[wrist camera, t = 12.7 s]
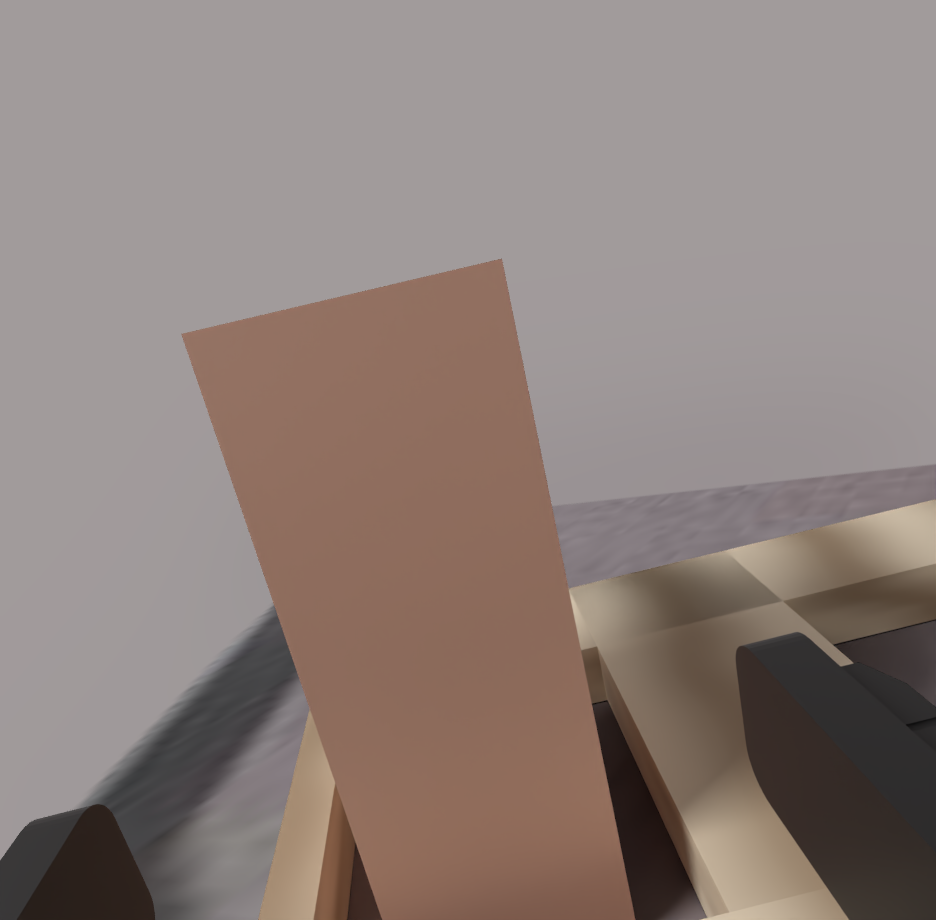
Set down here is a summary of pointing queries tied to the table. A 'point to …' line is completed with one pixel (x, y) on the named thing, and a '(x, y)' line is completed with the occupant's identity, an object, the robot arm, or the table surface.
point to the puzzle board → (680, 707)
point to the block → (423, 592)
